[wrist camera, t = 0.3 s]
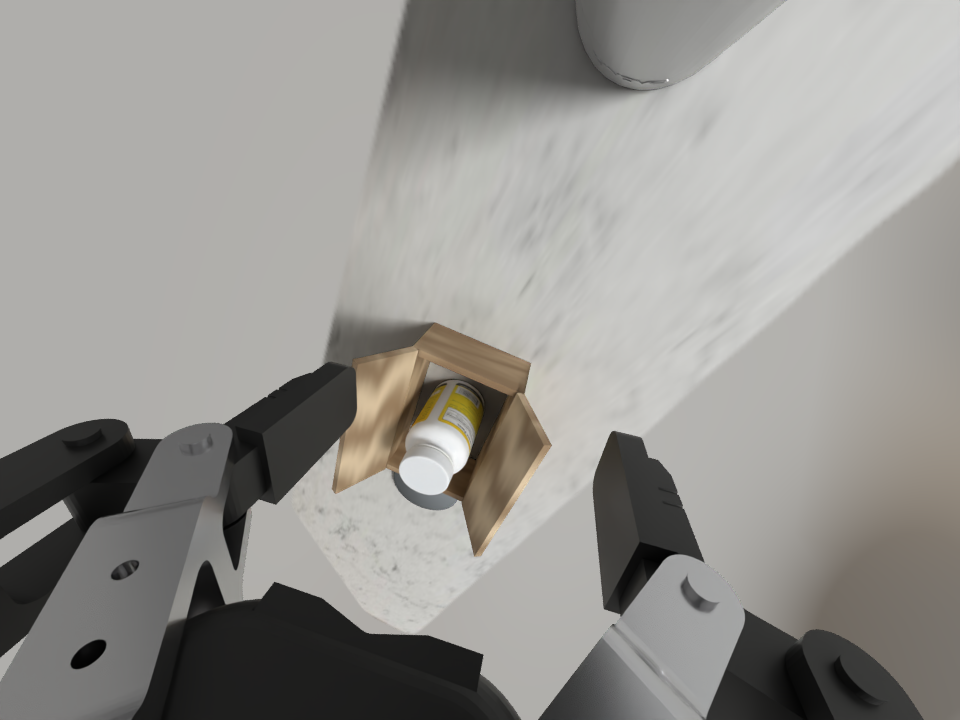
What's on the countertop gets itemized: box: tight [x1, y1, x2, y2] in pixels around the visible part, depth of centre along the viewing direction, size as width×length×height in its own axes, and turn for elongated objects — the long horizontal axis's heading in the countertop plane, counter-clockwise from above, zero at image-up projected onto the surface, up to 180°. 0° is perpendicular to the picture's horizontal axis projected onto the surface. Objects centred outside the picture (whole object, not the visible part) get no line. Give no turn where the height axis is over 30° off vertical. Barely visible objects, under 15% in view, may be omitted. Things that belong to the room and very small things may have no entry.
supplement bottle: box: [399, 380, 485, 495], centre depth 30 cm, size 5×5×10 cm
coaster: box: [394, 472, 457, 510], centre depth 40 cm, size 8×8×1 cm
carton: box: [332, 323, 552, 557], centre depth 30 cm, size 14×14×10 cm
